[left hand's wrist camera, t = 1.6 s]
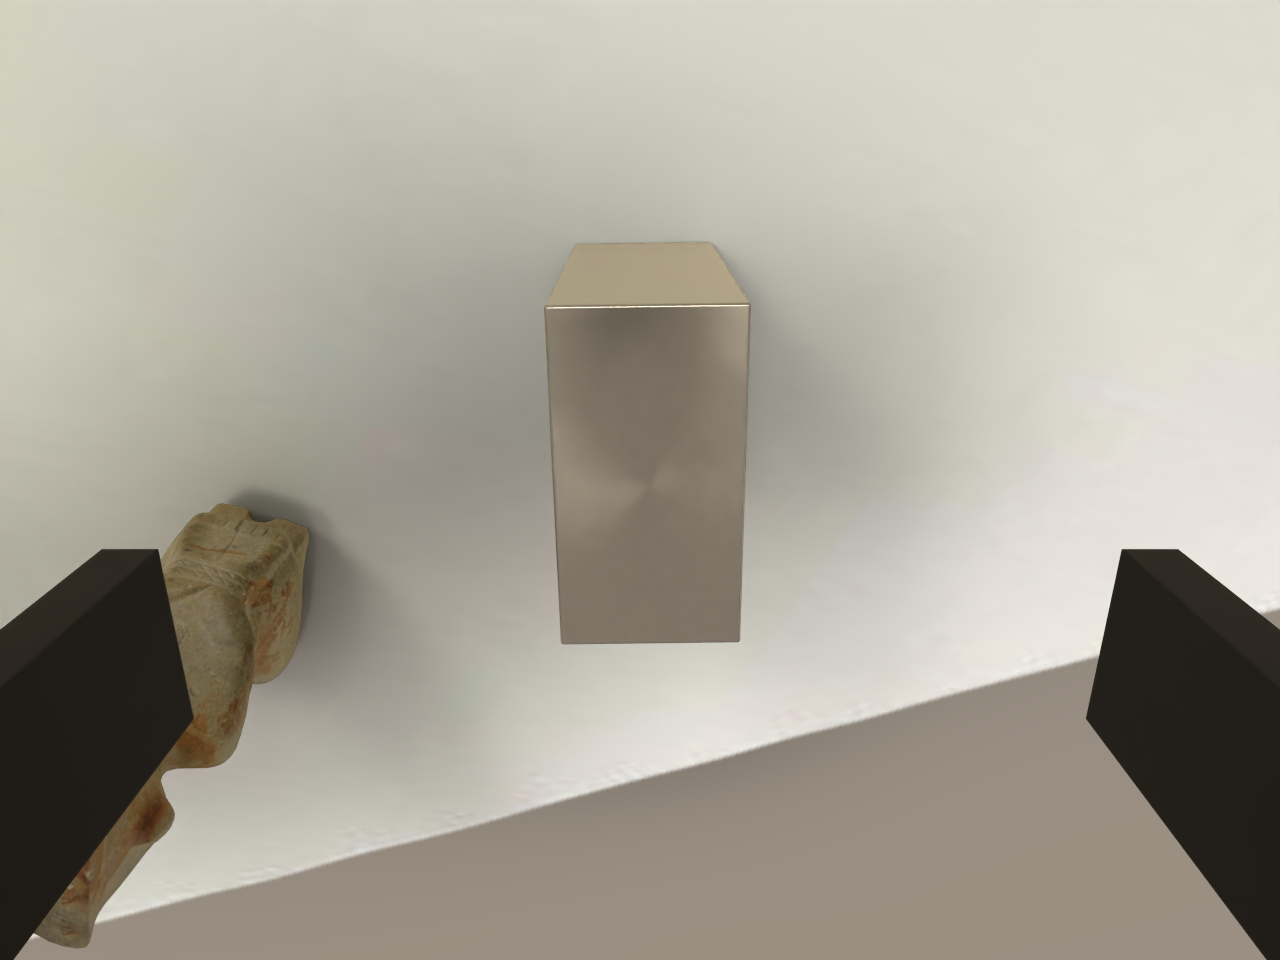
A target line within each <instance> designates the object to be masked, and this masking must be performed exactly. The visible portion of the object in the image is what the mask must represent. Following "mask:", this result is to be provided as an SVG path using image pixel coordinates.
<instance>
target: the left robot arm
mask: <svg viewBox="0 0 1280 960" xmlns="http://www.w3.org/2000/svg"><path fill="white" fill-rule="evenodd" d="M193 719H194V716H193V711H192V707H191V702H190V697H189V693H188V688H187V683H186V678H185V674H184V669H183V664H182V660H181V655H180V650H179V645H178V641H177V636H176V631H175V626H174V622H173V617H172V612H171V608H170V603H169V598H168V593H167V589H166V584H165V579H164V575H163V570H162V565H161V560H160V556H159V551H158V549H102V550H100V551H99V552H98V553H97V554H95V555H94V556H93V557H92V558H90V559H89V560H88V561H86V562H85V563H84V564H83V565H81V566H80V567H79V568H78V569H76V570H75V571H74V572H73V573H71V574H70V575H69V576H68V577H66V578H65V579H64V580H62V581H61V582H60V583H59V584H57V585H56V586H55V587H54V588H52V589H51V590H50V591H49V592H47V593H46V594H45V595H44V596H42V597H41V598H40V599H38V600H37V601H36V602H35V603H33V604H32V605H31V606H30V607H28V608H27V609H26V610H25V611H23V612H22V613H21V614H20V615H18V616H17V617H16V618H14V619H13V620H12V621H11V622H9V623H8V624H7V625H6V626H4V627H3V628H2V629H1V630H0V960H14V958H15V957H16V956H17V954H18V953H19V952H20V950H21V949H22V948H23V946H24V945H25V944H26V942H27V941H28V940H29V938H30V937H31V936H32V934H33V933H34V932H35V930H36V929H37V928H38V926H39V925H40V924H41V922H42V921H43V920H44V918H45V917H46V916H47V914H48V913H49V912H50V910H51V909H52V908H53V906H54V905H55V904H56V902H57V901H58V900H59V898H60V897H61V896H62V894H63V893H64V892H65V890H66V889H67V888H68V886H69V885H70V884H71V882H72V881H73V880H74V878H75V877H76V876H77V874H78V873H79V872H80V870H81V869H82V868H83V866H84V865H85V864H86V862H87V861H88V860H89V858H90V857H91V856H92V854H93V853H94V852H95V850H96V849H97V848H98V846H99V845H100V844H101V842H102V841H103V840H104V838H105V837H106V836H107V834H108V833H109V832H110V830H111V829H112V828H113V826H114V825H115V824H116V822H117V821H118V820H119V818H120V817H121V816H122V814H123V813H124V811H125V810H126V809H127V807H128V806H129V805H130V803H131V802H132V801H133V799H134V798H135V797H136V795H137V794H138V793H139V791H140V790H141V789H142V787H143V786H144V785H145V783H146V782H147V781H148V779H149V778H150V777H151V775H152V774H153V773H154V771H155V770H156V769H157V767H158V766H159V765H160V763H161V762H162V761H163V759H164V758H165V757H166V755H167V754H168V753H169V751H170V750H171V749H172V747H173V746H174V745H175V743H176V742H177V741H178V739H179V738H180V737H181V735H182V734H183V733H184V731H185V730H186V729H187V727H188V726H189V725H190V723H191V722H192V721H193ZM1086 719H1087V721H1088V722H1089V723H1090V725H1091V726H1092V727H1093V729H1094V730H1095V731H1096V733H1097V734H1098V735H1099V737H1100V738H1101V739H1102V741H1103V742H1104V743H1105V745H1106V746H1107V747H1108V749H1109V750H1110V751H1111V753H1112V754H1113V755H1114V757H1115V758H1116V759H1117V761H1118V762H1119V763H1120V765H1121V766H1122V767H1123V769H1124V770H1125V771H1126V773H1127V774H1128V775H1129V777H1130V778H1131V779H1132V781H1133V782H1134V783H1135V785H1136V786H1137V787H1138V789H1139V790H1140V791H1141V793H1142V794H1143V795H1144V797H1145V798H1146V799H1147V801H1148V802H1149V803H1150V805H1151V806H1152V807H1153V809H1154V810H1155V811H1156V813H1157V814H1158V815H1159V817H1160V818H1161V820H1162V821H1163V822H1164V823H1165V825H1166V826H1167V827H1168V829H1169V830H1170V832H1171V833H1172V834H1173V836H1174V837H1175V838H1176V839H1177V841H1178V842H1179V843H1180V845H1181V846H1182V848H1183V849H1184V850H1185V851H1186V853H1187V854H1188V855H1189V857H1190V858H1191V860H1192V861H1193V862H1194V864H1195V865H1196V866H1197V867H1198V869H1199V870H1200V872H1201V873H1202V874H1203V876H1204V877H1205V878H1206V880H1207V881H1208V882H1209V884H1210V885H1211V886H1212V888H1213V889H1214V890H1215V892H1216V893H1217V894H1218V896H1219V897H1220V898H1221V900H1222V901H1223V902H1224V904H1225V905H1226V906H1227V908H1228V909H1229V910H1230V912H1231V913H1232V914H1233V916H1234V917H1235V918H1236V920H1237V921H1238V922H1239V923H1240V925H1241V926H1242V928H1243V929H1244V930H1245V932H1246V933H1247V934H1248V936H1249V937H1250V938H1251V940H1252V941H1253V942H1254V944H1255V945H1256V946H1257V948H1258V949H1259V950H1260V952H1261V953H1262V954H1263V956H1264V957H1265V958H1266V960H1280V630H1279V629H1278V628H1277V627H1276V626H1274V625H1273V624H1272V623H1271V622H1269V621H1268V620H1267V619H1266V618H1264V617H1263V616H1262V615H1260V614H1259V613H1258V612H1257V611H1255V610H1254V609H1253V608H1252V607H1250V606H1249V605H1248V604H1247V603H1245V602H1244V601H1243V600H1242V599H1240V598H1239V597H1238V596H1236V595H1235V594H1234V593H1233V592H1231V591H1230V590H1229V589H1228V588H1226V587H1225V586H1224V585H1223V584H1221V583H1220V582H1219V581H1218V580H1216V579H1215V578H1214V577H1212V576H1211V575H1210V574H1209V573H1207V572H1206V571H1205V570H1204V569H1202V568H1201V567H1200V566H1199V565H1197V564H1196V563H1195V562H1194V561H1192V560H1191V559H1190V558H1188V557H1187V556H1186V555H1185V554H1183V553H1182V552H1181V551H1180V550H1178V549H1122V551H1121V556H1120V560H1119V565H1118V570H1117V575H1116V579H1115V584H1114V589H1113V593H1112V598H1111V603H1110V608H1109V612H1108V617H1107V622H1106V626H1105V631H1104V636H1103V641H1102V645H1101V650H1100V655H1099V660H1098V664H1097V669H1096V674H1095V678H1094V683H1093V688H1092V693H1091V697H1090V702H1089V707H1088V711H1087V716H1086Z"/></svg>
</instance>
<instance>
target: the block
mask: <svg viewBox="0 0 1280 960" xmlns="http://www.w3.org/2000/svg"><path fill="white" fill-rule="evenodd" d="M544 312H545V332H546V352H547V372H548V392H549V412H550V432H551V452H552V472H553V492H554V512H555V532H556V552H557V571H558V591H559V611H560V631H561V643H562V644H622V643H701V642H739V641H740V624H741V593H742V561H743V530H744V499H745V468H746V437H747V406H748V375H749V344H750V313H751V305H750V302H749V301H748V299H747V298H746V296H745V295H744V293H743V291H742V290H741V288H740V287H739V285H738V283H737V282H736V280H735V279H734V277H733V276H732V274H731V272H730V271H729V269H728V268H727V266H726V264H725V263H724V261H723V260H722V258H721V257H720V255H719V253H718V252H717V250H716V249H715V247H714V245H713V244H712V243H711V242H689V243H611V244H575V246H574V248H573V250H572V252H571V254H570V256H569V258H568V260H567V262H566V264H565V266H564V268H563V270H562V272H561V275H560V277H559V279H558V281H557V283H556V285H555V287H554V289H553V291H552V293H551V295H550V297H549V299H548V301H547V303H546V305H545V307H544Z"/></svg>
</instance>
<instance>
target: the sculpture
mask: <svg viewBox="0 0 1280 960" xmlns="http://www.w3.org/2000/svg"><path fill="white" fill-rule="evenodd" d="M308 545H309V533H308V530H307V529H306V528H305V527H303V526H301V525H298V524H296V523H293V522H290V521H287V520H284V519H279V518H278V519H274V520H272V521H268V522H257V521H253V516H252V513H251V511H250V510H249V509H246V508H244V507H240V506H234V505H228V504H218V505H216V506H215V507H214V508H213V509H212V511H211V512H210V513H200V514H197V515H196V516H195V517H194V518H192V519H191V520H190V521H189V522H188V524H187V525H186V526H185V527H184V529H183V530H182V531H181V532H180V534H179V535H178V536H177V537H176V539H175V540H174V541H173V543H172V544H171V546H170V547H169V548H168V550H167V551H166V553H165V555H164V556H163V558H162V559H161V565H162V570H163V575H164V579H165V584H166V589H167V593H168V598H169V603H170V608H171V612H172V617H173V622H174V626H175V631H176V636H177V641H178V645H179V650H180V655H181V660H182V664H183V669H184V674H185V678H186V683H187V688H188V693H189V697H190V702H191V707H192V711H193V716H194V719H193V721H192V722H191V723H190V725H189V726H188V727H187V729H186V730H185V731H184V733H183V734H182V735H181V737H180V738H179V739H178V741H177V742H176V743H175V745H174V746H173V747H172V749H171V750H170V751H169V753H168V754H167V755H166V757H165V758H164V759H163V761H162V762H161V763H160V765H159V766H158V767H157V769H156V770H155V771H154V773H153V774H152V775H151V777H150V778H149V779H148V781H147V782H146V783H145V785H144V786H143V787H142V789H141V790H140V791H139V793H138V794H137V795H136V797H135V798H134V799H133V801H132V802H131V803H130V805H129V806H128V807H127V809H126V810H125V811H124V813H123V814H122V816H121V817H120V818H119V820H118V821H117V822H116V824H115V825H114V826H113V828H112V829H111V830H110V832H109V833H108V834H107V836H106V837H105V838H104V840H103V841H102V842H101V844H100V845H99V846H98V848H97V849H96V850H95V852H94V853H93V854H92V856H91V857H90V858H89V860H88V861H87V862H86V864H85V865H84V866H83V868H82V869H81V870H80V872H79V873H78V874H77V876H76V877H75V878H74V880H73V881H72V882H71V884H70V885H69V886H68V888H67V889H66V890H65V892H64V893H63V894H62V896H61V897H60V898H59V900H58V901H57V902H56V904H55V905H54V906H53V908H52V909H51V910H50V912H49V913H48V914H47V916H46V917H45V918H44V920H43V921H42V922H41V924H40V925H39V926H38V928H37V929H36V930H35V932H34V934H36V935H38V936H40V937H42V938H44V939H46V940H47V941H50V942H52V943H55V944H58V945H61V946H65V947H71V948H84V947H86V946H87V945H88V944H89V943H90V939H91V935H92V931H93V927H94V923H95V920H96V918H97V915H98V913H99V912H100V910H101V909H102V907H103V906H104V904H105V903H106V902H107V901H108V900H109V898H110V897H111V896H112V895H113V894H114V893H115V891H116V890H117V889H118V888H119V886H120V885H121V884H122V883H123V881H124V880H125V879H126V878H127V876H128V875H129V874H130V873H131V871H132V870H133V869H134V867H135V866H136V865H137V863H138V862H139V861H140V860H141V858H142V857H143V856H144V854H145V853H146V852H147V851H148V849H149V848H150V847H151V846H152V845H153V844H154V843H155V842H157V841H158V840H159V839H160V838H161V837H162V836H164V835H165V834H166V832H167V831H168V830H169V829H170V827H171V826H172V823H173V821H174V816H175V814H174V810H173V808H172V806H171V804H170V803H169V801H168V800H167V798H166V796H165V792H164V789H163V786H162V784H161V778H162V776H163V774H164V773H165V772H167V771H169V770H173V769H176V768H209V767H214V766H218V765H220V764H222V763H224V762H225V761H226V760H227V759H228V758H229V757H230V756H231V755H232V754H233V752H234V751H235V749H236V747H237V744H238V741H239V738H240V736H241V732H242V728H243V724H244V721H245V717H246V712H247V706H248V699H249V694H250V691H251V687H252V684H262V683H266V682H269V681H271V680H273V679H274V678H275V677H277V676H278V675H279V674H280V673H281V672H282V671H283V669H284V668H285V667H286V666H287V665H288V663H289V661H290V659H291V657H292V656H293V653H294V651H295V648H296V645H297V642H298V637H299V633H300V626H301V616H302V585H303V570H304V564H305V556H306V551H307V549H308Z"/></svg>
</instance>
